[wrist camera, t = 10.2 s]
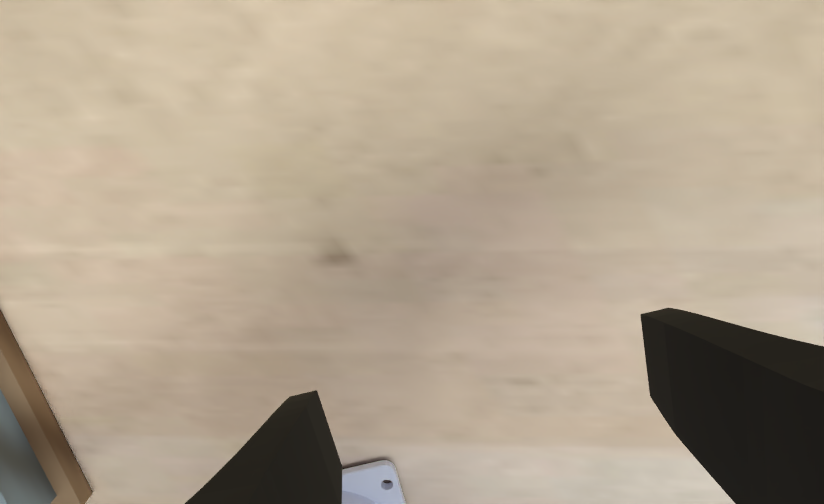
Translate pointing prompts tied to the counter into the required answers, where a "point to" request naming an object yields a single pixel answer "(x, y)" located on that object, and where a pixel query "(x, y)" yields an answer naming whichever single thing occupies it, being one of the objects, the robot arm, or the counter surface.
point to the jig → (32, 438)
